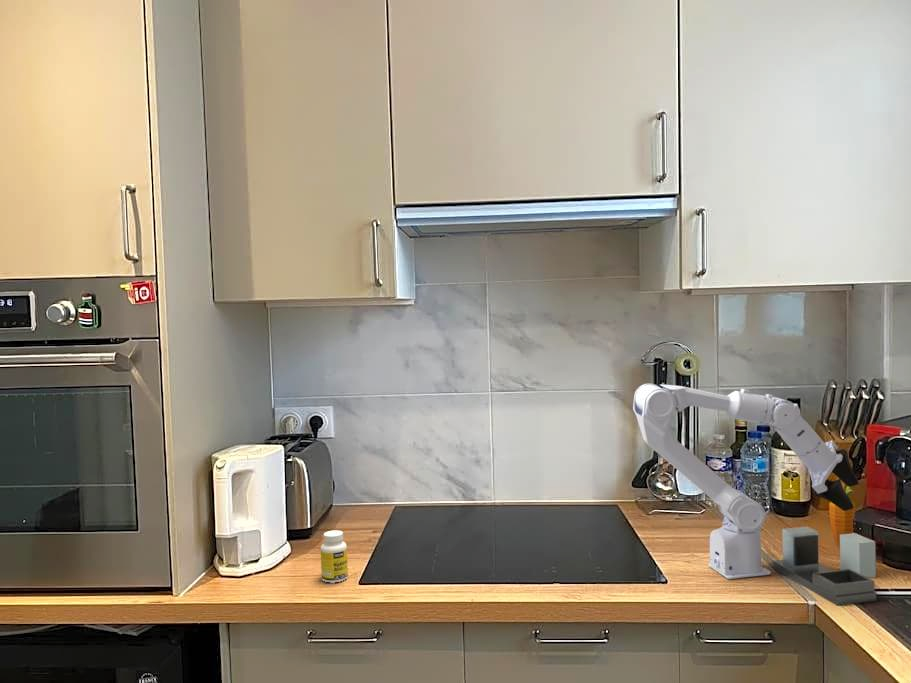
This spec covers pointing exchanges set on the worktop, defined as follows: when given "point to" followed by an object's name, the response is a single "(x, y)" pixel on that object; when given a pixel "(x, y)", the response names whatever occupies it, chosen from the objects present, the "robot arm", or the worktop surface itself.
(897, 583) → the worktop surface
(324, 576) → the supplement bottle
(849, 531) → the carrot
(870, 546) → the pale green upright block
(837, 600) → the grey block holder
